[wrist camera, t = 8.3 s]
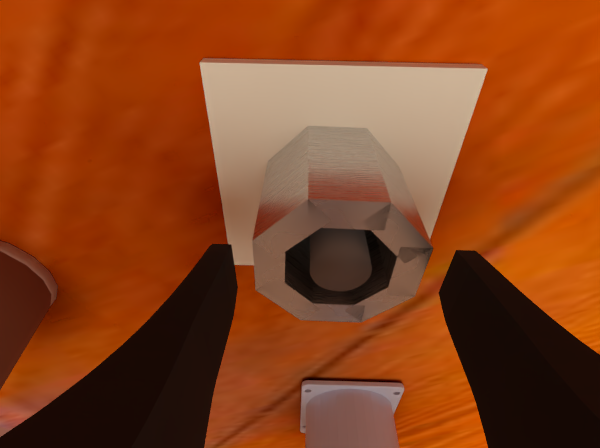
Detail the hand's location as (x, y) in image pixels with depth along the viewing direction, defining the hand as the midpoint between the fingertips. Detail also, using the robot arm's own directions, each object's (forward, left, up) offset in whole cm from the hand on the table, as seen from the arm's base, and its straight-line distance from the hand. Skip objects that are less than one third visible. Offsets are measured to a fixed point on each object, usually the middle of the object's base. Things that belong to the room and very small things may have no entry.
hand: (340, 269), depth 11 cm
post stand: (0, 0, -5) cm, 5 cm away
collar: (0, 0, -5) cm, 5 cm away
